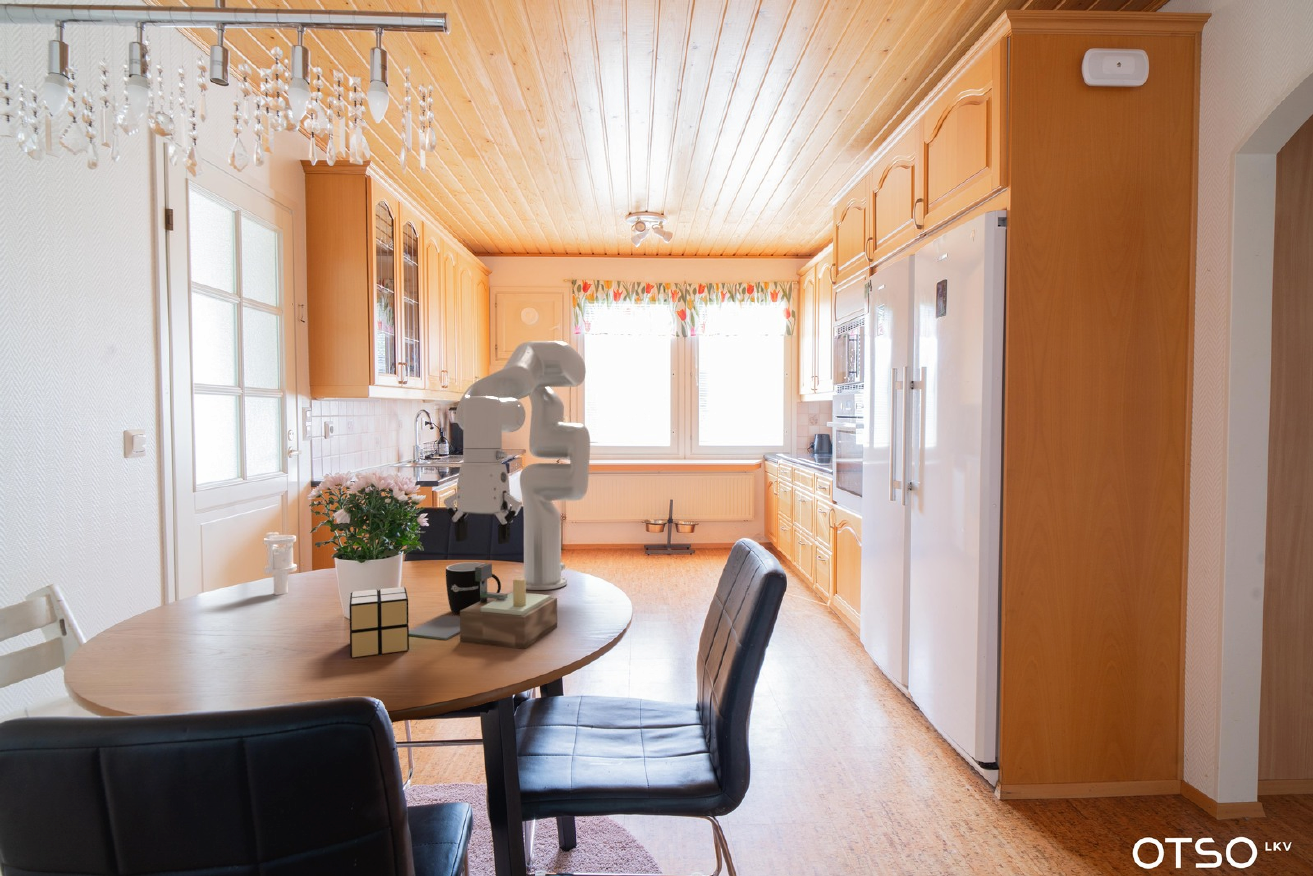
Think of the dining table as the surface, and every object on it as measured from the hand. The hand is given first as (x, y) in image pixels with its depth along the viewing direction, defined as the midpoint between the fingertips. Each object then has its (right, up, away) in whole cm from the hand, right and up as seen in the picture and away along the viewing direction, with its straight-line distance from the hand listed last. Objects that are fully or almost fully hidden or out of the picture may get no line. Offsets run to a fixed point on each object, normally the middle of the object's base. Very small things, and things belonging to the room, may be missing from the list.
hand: (482, 541), depth 136 cm
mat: (-9, -18, +3) cm, 21 cm away
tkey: (+2, -12, 0) cm, 13 cm away
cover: (+7, -12, -1) cm, 14 cm away
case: (+6, -18, -1) cm, 19 cm away
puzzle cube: (-17, -19, -8) cm, 27 cm away
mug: (-6, -18, +15) cm, 25 cm away
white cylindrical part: (-58, -18, +30) cm, 68 cm away
